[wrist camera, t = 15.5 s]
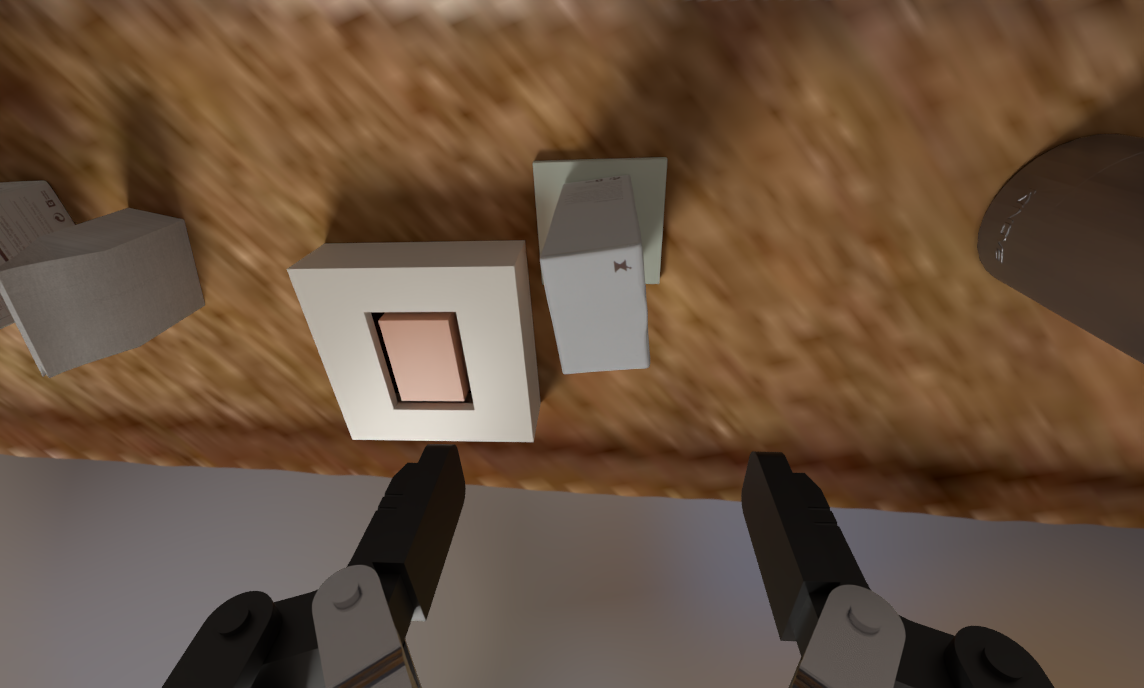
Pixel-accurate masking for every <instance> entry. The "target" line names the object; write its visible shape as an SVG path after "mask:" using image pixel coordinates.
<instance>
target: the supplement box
mask: <svg viewBox="0 0 1144 688" xmlns="http://www.w3.org/2000/svg"><path fill="white" fill-rule="evenodd" d="M74 225H75V224H74V222H73V221H72V219H71V217H70V216H69V214H68V213H67V211H66V210H65V208H64V206H63V205H62V203H61V202H60V200H59V199H58V197H57V196H56V194H55V193H54V191H53V190H52V188H51V187H50V185H49V184H48V183H47V182H46V181H19V182H3V183H0V265H2V264H4V263H5V262H7V261H9V260H10V259H12V258H13V257H15V256H16V255H18V254H19V253H20V252H21V251H22V250H24V249H25V248H26V247H27V246H29V245H30V244H31V243H32V242H34V241H35V240H36V239H37V238H38V237H40V236H43V235H46V234H49V233H53V232H56V231H59V230H62V229H65V228H68V227H71V226H74ZM13 323H15V321H14V319H13V317H12V315H11V313H10V311H9V309H8V307H7V305H6V303H5V301H4V299H3V297H2V295H1V293H0V329H2V328H4V327H6V326H8V325H11V324H13Z"/></svg>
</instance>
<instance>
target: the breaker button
mask: <svg viewBox="0 0 1144 688" xmlns="http://www.w3.org/2000/svg"><path fill="white" fill-rule="evenodd" d="M378 322H379V325H380V328H381V332H382V335H383V339H384V342H385V345H386V349H387V352H388V356H389V359H390V362H391V366H392V369H393V373H394V376H395V379H396V383H397V386H398V390H399V393H400V396H401V400H402V401H465V398H466V396H467V393H468V391H469V388H470V382H469V377H468V372H467V367H466V361H465V356H464V351H463V346H462V340H461V335H460V330H459V325H458V320H457V314H456V312H385V313H384V314H383V316H382V317H381V318H380V319H379V320H378Z"/></svg>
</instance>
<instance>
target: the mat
mask: <svg viewBox="0 0 1144 688" xmlns="http://www.w3.org/2000/svg"><path fill="white" fill-rule="evenodd" d="M666 173H667V157H652V158H617V159H583V160H548V161H534V162H533V174H534V187H535V200H536V212H537V225H538V238H539V251H540V257H541V254H542V250H543V247H544V244H545V241H546V238H547V234H548V231H549V228H550V225H551V222H552V218H553V215H554V212H555V209H556V206H557V203H558V199H559V196H560V193H561V190H562V187H563V184H564V183H571V182H579V181H586V180H593V179H599V178H607V177H614V176H622V175H630V176H631V182H632V188H633V193H634V200H635V206H636V211H637V217H638V223H639V227H640V232H641V240H642V248H643V259H644V273H645V284H659V279H660V264H661V249H662V234H663V219H664V203H665V188H666ZM541 276H542V285H544V280H543V275H542V269H541Z"/></svg>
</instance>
